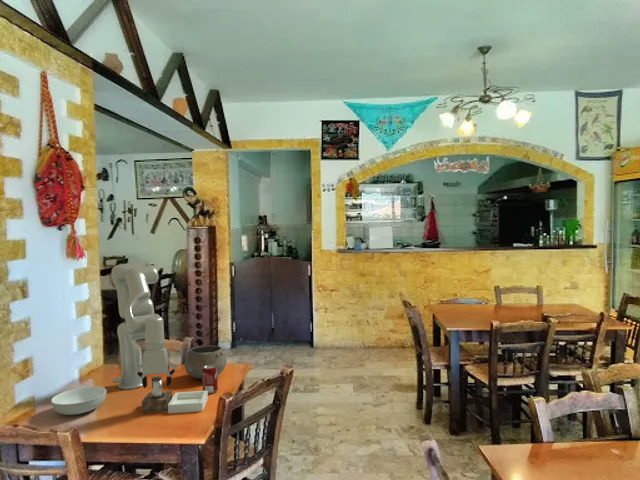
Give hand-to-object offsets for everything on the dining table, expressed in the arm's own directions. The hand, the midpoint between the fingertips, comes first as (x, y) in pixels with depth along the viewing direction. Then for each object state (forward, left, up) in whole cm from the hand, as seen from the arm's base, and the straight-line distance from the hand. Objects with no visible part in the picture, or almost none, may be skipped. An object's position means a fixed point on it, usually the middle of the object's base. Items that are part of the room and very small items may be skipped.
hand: (157, 386), depth 190 cm
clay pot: (+15, +36, -10) cm, 40 cm away
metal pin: (0, 0, -10) cm, 10 cm away
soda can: (+20, +15, -10) cm, 27 cm away
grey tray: (+13, 0, -9) cm, 16 cm away
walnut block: (0, 0, -9) cm, 9 cm away
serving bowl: (-33, +3, -10) cm, 35 cm away
